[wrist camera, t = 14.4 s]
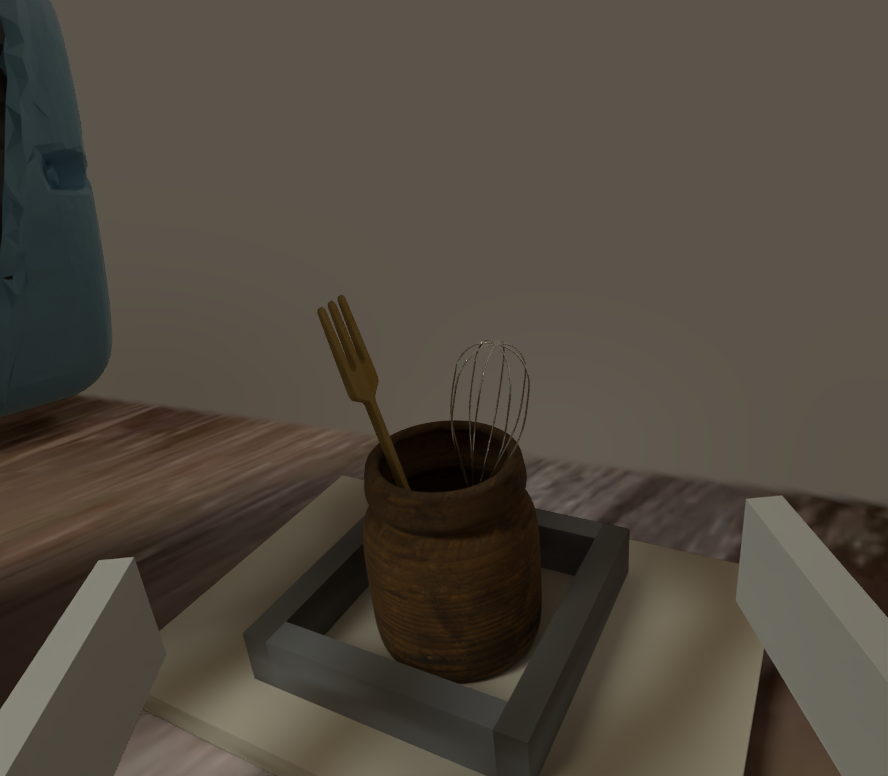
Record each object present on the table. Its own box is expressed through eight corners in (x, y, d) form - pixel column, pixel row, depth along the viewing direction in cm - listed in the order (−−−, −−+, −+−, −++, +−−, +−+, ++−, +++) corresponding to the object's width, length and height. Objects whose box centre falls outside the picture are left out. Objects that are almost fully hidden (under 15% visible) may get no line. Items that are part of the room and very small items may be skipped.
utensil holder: (518, 710, 22) (495, 347, 17) (340, 665, 24) (273, 335, 19) (561, 586, 27) (553, 277, 22) (410, 558, 29) (372, 274, 24)
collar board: (115, 695, 25) (90, 630, 24) (345, 491, 36) (336, 440, 35) (708, 990, 16) (718, 908, 14) (773, 593, 27) (782, 527, 25)
